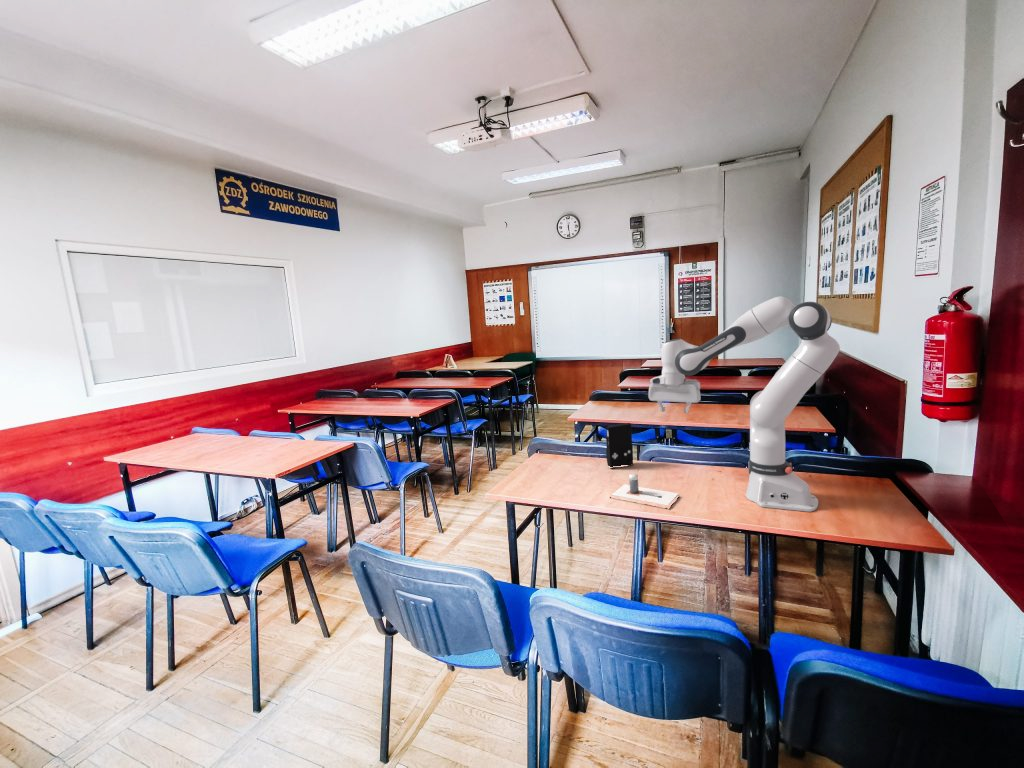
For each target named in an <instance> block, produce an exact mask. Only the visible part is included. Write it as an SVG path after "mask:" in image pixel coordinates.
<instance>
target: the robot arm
mask: <svg viewBox="0 0 1024 768" xmlns="http://www.w3.org/2000/svg"><path fill="white" fill-rule="evenodd" d="M832 321H833V319H832V317H831V314H830V312H829V309H827V308H826V307H825V306H824V305H822V304H820V303H819V302H816V301H804V302H801V303H799V304H796V305H795V304H794V303H793V302H792V301H791V299H790V298H787V297H786V296H781V295H779V296H775V297H773V298H770V299H767V300H765V301H762V302H761V303H759V304H757V305H756V306H754V307H752V308H751V309H749V310H747V311H746V312H744V313H743V314H742V315H740V316H739V317H738V318H737V319H736V320H735V321H733V322H732V323H731V324H730V325H729V326H728V327H727V328H726V329H725V330H724V331H722V332H721V333H719V334H718V335H716V336H714V337H713V338H711V339H710V340H707V341H706V342H704V343H702V344H701V345H699V346H698V345H695V344H691V343H689V342H687V341H685V340H684V339H682V338H675V339H670V340H667V341H665V342H663V343H662V346H661V355H660V356H661V361H660V362H661V365H662V368H661V374H660V375H658V376H654V377H652V378H651V379H650V380H649V381H650V385H649V388H648V399H649V401H652V402H657V406H658V407H659V408H660V413H661V412H666V406H664V405H663V404H662V403H663V402H670V403H671V402H673V403H686V404H685V405H686V407H684V408H683V414H689V413H690V411H689V409H690V407H691V405H692V403H693V404H697V403H699V402H701V400H702V399H701V391H700V390H701V382H700V381H699V380H697V379H690V378H689V379H688V378H686V376H690V377H692V376H695V375H697V374H698V373H700V371H703V369H705V368H707V367H708V366H709V365H710V361H711V360H712V359H714V358H716V357H718V356H720V355H721V354H723V353H725V352H727V351H728V350H730V349H734V348H737V347H739V346H742V345H747V344H750V343H753V342H755V341H759V340H761V339H763V338H765V337H767V336H768V335H770V334H772V333H774V332H776V331H777V330H781V329H782V328H791V330H792V331H793V332H794V333H795V334H796V335H797V336H798V337H799V339H801V342H800V344H799V346H798V347H797V348H796V350H795V351H793V353H792V354H791V355H790V356H789V357H788V358H787V359H786V360H785V362H784V363H783V364H782V366H781V367H780V368H779V369H778V370H777V371H776V372H775V374H774V375H773V377H772V378H771V379H770V381H769V382H768V383H767V385H766V386H765V387H764V388H763V390H759V391H757V392H756V393H755V394H754V395H753V396H752V397H751V399H750V402H749V459H748V462H747V463H748V474H749V475H748V483H747V488H746V491H745V498H747V500H749V501H751V502H754V503H756V504H757V505H758V506H760V507H762V508H769V509H771V508H772V509H781V510H788V511H789V510H790V511H799V512H808V513H809V512H810V513H811V512H813V511H816V510H817V509H818V508H819V499H818V498H817V497H816V495H814V494H811V489H810V486H809V484H808V482H806V481H805V480H803V479H802V478H800V477H799V476H798V475H796V474H795V473H794V472H792V471H793V466H792V465H793V464H792V462H788V461H786V421H785V420H786V419H787V418H788V417H789V415H790V414H791V413H792V412H793V410H794V409H795V408H796V406H797V405H798V403H800V401H801V400H802V398H803V397H804V396H805V394H806V393H807V392H808V391H809V390H810V389H811V387H813V386H814V384H815V383H816V382H817V381H818V379H819V378H820V377H822V375H823V374H824V373H825V372H826V370H828V369H829V367H830V366H831V365H832V363H833V362H834V361H835V359H836V357H837V356H838V354H839V352H840V349H841V348H840V344H839V342H838V341H837V339H835V338H834V337H833V336H831V335H830V334H829V333H828V331H829V330H830V328H831V326H832Z"/></svg>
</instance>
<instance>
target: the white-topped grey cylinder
mask: <svg viewBox="0 0 1024 768" xmlns="http://www.w3.org/2000/svg"><path fill="white" fill-rule="evenodd" d="M628 480H629V485H630V493H632V494H637V493H639V488H638V487H639V476H638V473H630V474H629V475H628Z"/></svg>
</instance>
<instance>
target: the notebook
mask: <svg viewBox="0 0 1024 768" xmlns="http://www.w3.org/2000/svg"><path fill="white" fill-rule="evenodd" d="M638 488H639V493H637V494H632V493H630V484H625V483H624V484H622V486H620V487H619V488H618V489H616V491H614V492H613V493H612V494H611V495H613V496H618V497H624V498H629V499H635V500H641V501H645V500H646V502H651V503H656V504H661V505H666V506H668V505H669V504H670V503H671V502H672V501H673V500H674V499H675V498H676V497H677V496H678V495H679V493H677V492H672V491H665V490H659V489H654V488H648V487H641V486H638Z"/></svg>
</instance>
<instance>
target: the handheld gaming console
mask: <svg viewBox="0 0 1024 768" xmlns="http://www.w3.org/2000/svg"><path fill="white" fill-rule="evenodd" d="M632 433H633V432H632V424H631V423H630V422H629V423H628V422H627V423H623V424H621V423H620V424H616V425H609V426H606V434H605V439H606V440H605V441H606V442H605V443H606V449H605V452H606V453H605V455H606V457H605V458H606V464H607V466H610V467H613V466H621V465H630V466H632V465H634V457H633V456H634V455H633V453H634V452H633V436H632ZM631 464H632V465H631Z"/></svg>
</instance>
